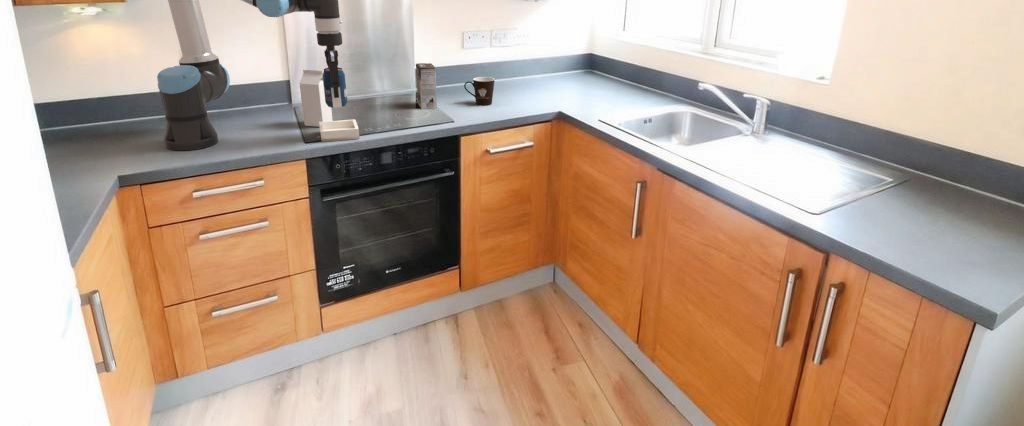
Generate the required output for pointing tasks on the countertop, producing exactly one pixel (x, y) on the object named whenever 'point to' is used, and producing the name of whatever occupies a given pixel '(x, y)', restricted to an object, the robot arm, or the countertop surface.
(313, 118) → the milk carton
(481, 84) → the coffee mug
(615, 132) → the countertop surface
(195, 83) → the robot arm
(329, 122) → the bin
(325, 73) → the soda can
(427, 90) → the coffee box
